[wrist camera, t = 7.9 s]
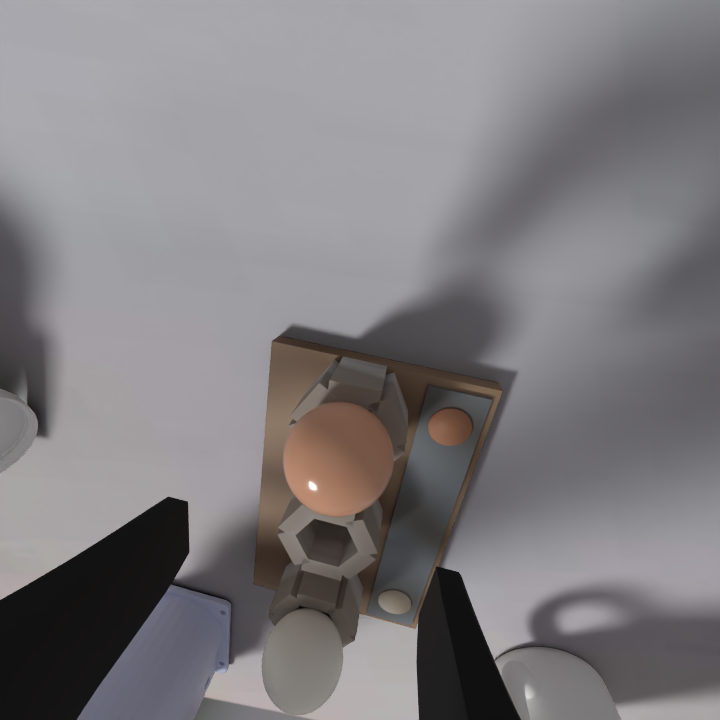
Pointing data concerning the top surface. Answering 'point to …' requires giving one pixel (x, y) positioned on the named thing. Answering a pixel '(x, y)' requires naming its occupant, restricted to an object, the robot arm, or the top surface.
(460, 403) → the brown egg holder tray
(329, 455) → the terracotta ball
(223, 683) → the top surface
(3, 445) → the spread jar
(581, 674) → the mug
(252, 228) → the top surface
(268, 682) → the cream ball
